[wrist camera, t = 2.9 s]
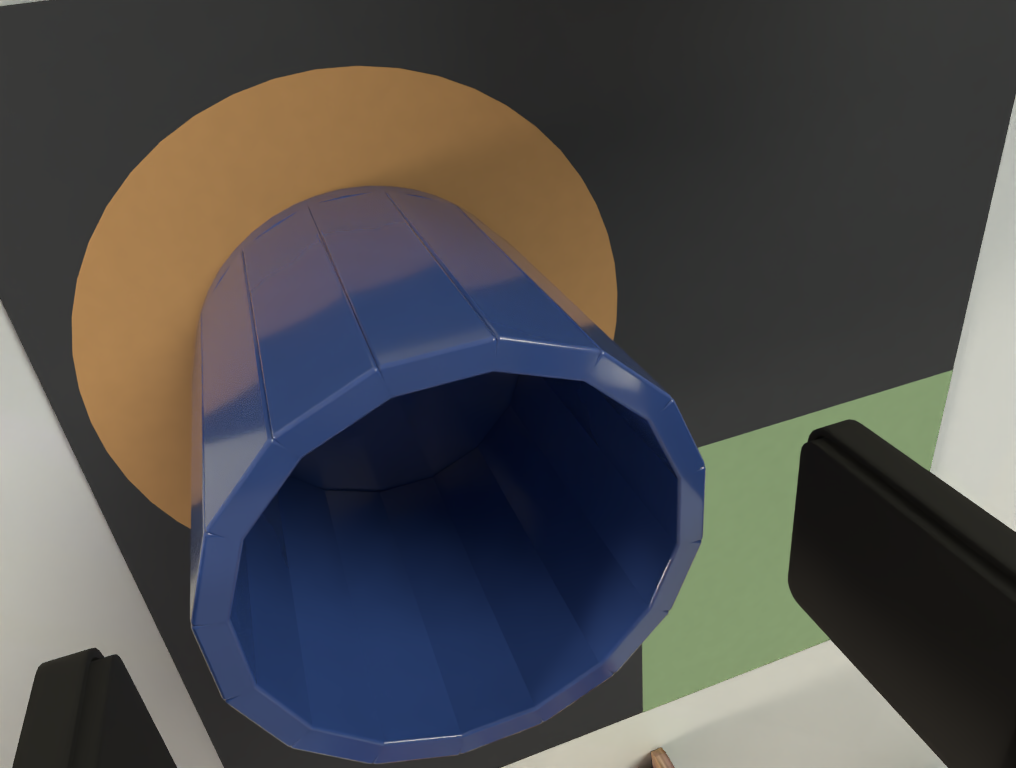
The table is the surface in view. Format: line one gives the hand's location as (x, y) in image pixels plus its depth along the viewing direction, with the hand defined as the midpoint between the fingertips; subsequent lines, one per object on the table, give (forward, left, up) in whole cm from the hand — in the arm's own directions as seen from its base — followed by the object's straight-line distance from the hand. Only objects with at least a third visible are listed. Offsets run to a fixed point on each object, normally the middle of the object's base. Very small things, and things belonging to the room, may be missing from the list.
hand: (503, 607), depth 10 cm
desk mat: (+5, -4, -7) cm, 9 cm away
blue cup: (0, 0, -7) cm, 7 cm away
